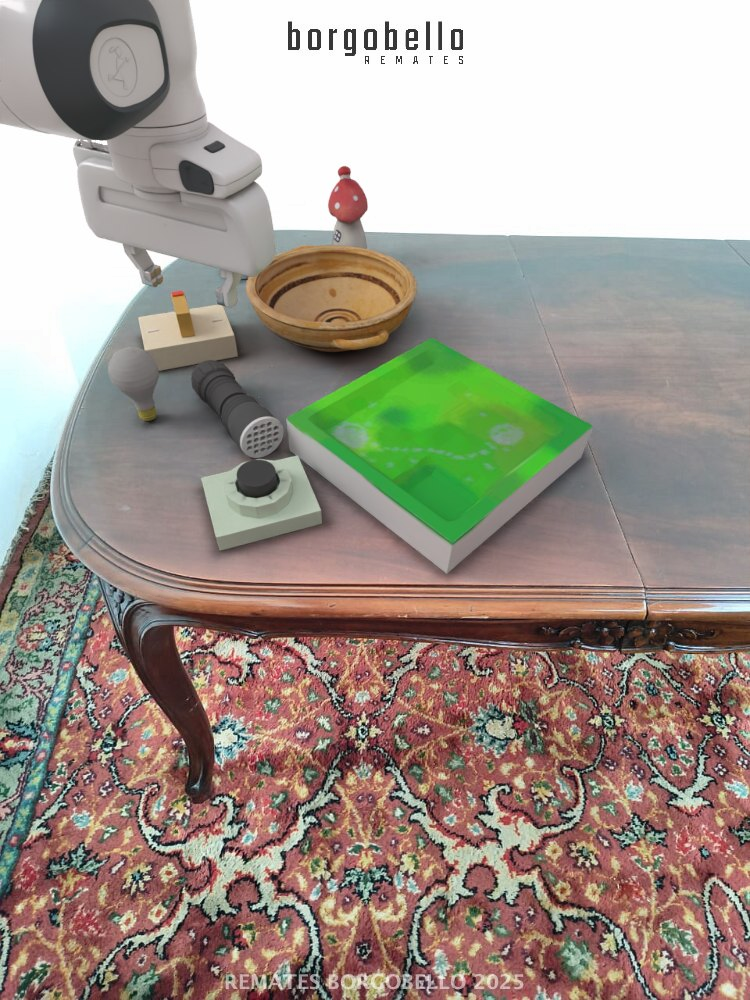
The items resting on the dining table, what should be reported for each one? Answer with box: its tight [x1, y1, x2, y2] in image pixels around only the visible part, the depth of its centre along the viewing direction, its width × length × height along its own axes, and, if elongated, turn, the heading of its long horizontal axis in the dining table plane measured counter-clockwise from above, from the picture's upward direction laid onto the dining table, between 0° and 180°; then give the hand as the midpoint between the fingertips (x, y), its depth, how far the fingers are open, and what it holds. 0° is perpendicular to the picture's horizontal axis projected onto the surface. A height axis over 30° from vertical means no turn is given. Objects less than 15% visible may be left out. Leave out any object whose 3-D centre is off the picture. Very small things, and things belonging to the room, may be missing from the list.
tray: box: [285, 337, 594, 575], centre depth 69 cm, size 25×25×5 cm
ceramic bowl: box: [245, 244, 418, 353], centre depth 86 cm, size 30×24×8 cm
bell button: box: [237, 459, 277, 498], centre depth 61 cm, size 4×4×2 cm
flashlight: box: [190, 360, 284, 459], centre depth 72 cm, size 15×5×5 cm, turn 36°
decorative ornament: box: [327, 165, 369, 249], centre depth 99 cm, size 9×7×15 cm
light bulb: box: [107, 346, 160, 422], centre depth 71 cm, size 5×6×10 cm
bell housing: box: [200, 455, 323, 552], centre depth 63 cm, size 11×9×4 cm
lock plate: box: [138, 304, 239, 372], centre depth 84 cm, size 12×9×4 cm
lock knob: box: [170, 290, 195, 337], centre depth 81 cm, size 6×2×4 cm, turn 20°
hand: (190, 293), depth 63 cm, fingers open, 8 cm apart
